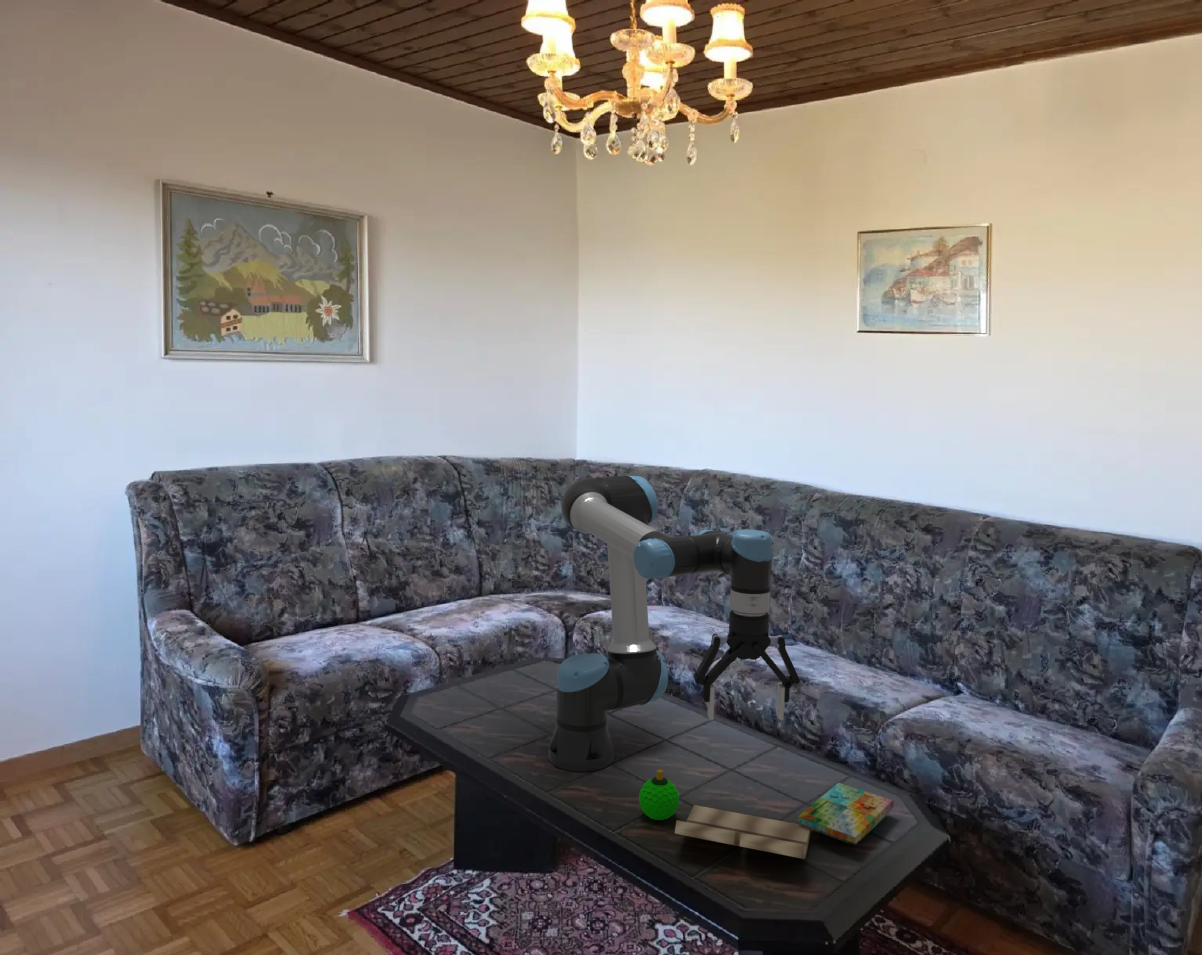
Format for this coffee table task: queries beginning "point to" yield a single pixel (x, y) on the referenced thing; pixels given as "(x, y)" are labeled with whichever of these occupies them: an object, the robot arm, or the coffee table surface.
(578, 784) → the coffee table surface
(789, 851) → the plank
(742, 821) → the laid board
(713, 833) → the plank
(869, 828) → the puzzle game
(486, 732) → the coffee table surface
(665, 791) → the ornament
